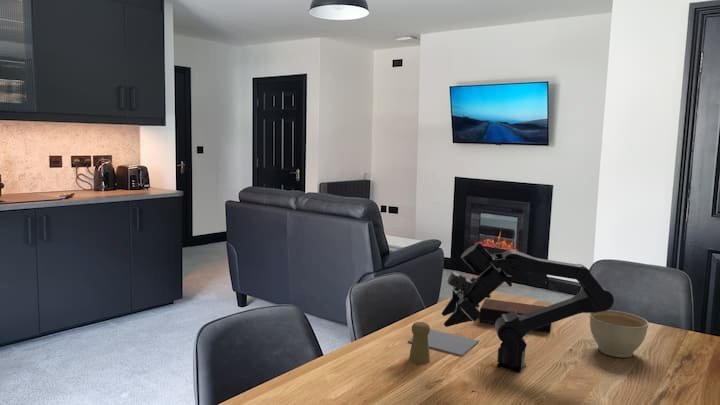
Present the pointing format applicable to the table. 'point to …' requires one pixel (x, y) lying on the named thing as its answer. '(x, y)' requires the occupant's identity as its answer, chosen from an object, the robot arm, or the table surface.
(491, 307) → the dark brown rectangular block
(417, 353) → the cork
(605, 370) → the table surface
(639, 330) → the planter bowl
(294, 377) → the table surface
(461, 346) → the mat
